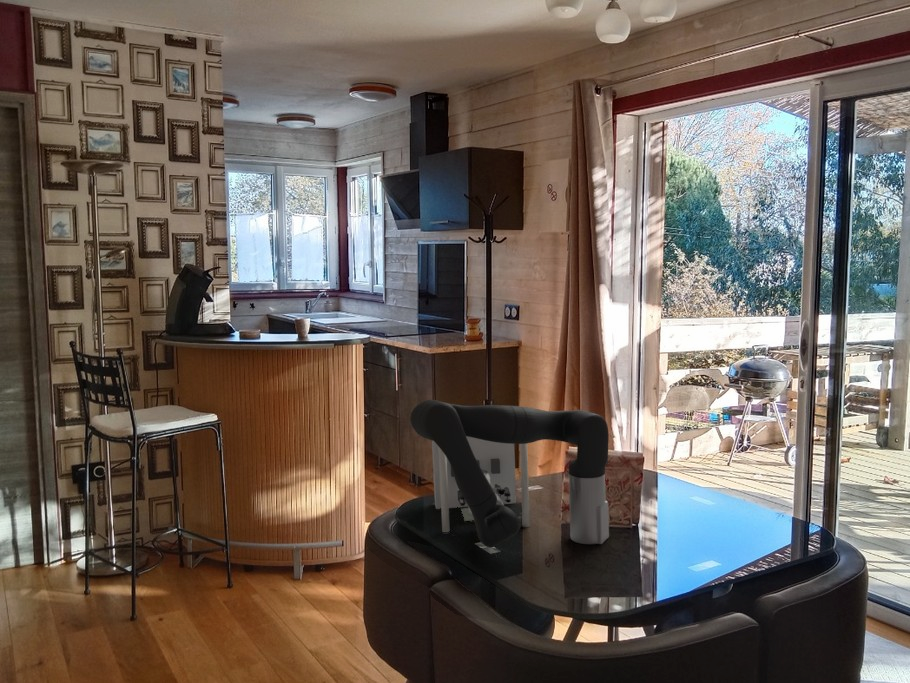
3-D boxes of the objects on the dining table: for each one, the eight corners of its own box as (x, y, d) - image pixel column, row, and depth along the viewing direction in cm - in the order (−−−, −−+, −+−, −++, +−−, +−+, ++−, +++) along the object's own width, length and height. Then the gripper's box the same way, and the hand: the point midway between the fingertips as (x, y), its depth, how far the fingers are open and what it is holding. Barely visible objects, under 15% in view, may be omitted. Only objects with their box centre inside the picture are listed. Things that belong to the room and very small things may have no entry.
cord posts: (530, 526, 213) (527, 433, 211) (442, 533, 211) (438, 438, 208) (529, 524, 215) (525, 431, 213) (442, 531, 213) (437, 437, 210)
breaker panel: (517, 505, 232) (514, 418, 229) (436, 511, 230) (432, 424, 227) (513, 498, 239) (510, 414, 236) (434, 503, 237) (431, 419, 234)
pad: (500, 519, 221) (500, 517, 221) (464, 521, 220) (464, 519, 220) (494, 508, 231) (494, 506, 230) (461, 510, 230) (461, 508, 229)
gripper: (515, 490, 206) (505, 473, 222) (461, 494, 205) (455, 477, 221) (516, 518, 207) (506, 499, 223) (462, 522, 206) (456, 503, 222)
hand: (480, 488), depth 222 cm, fingers open, 8 cm apart
